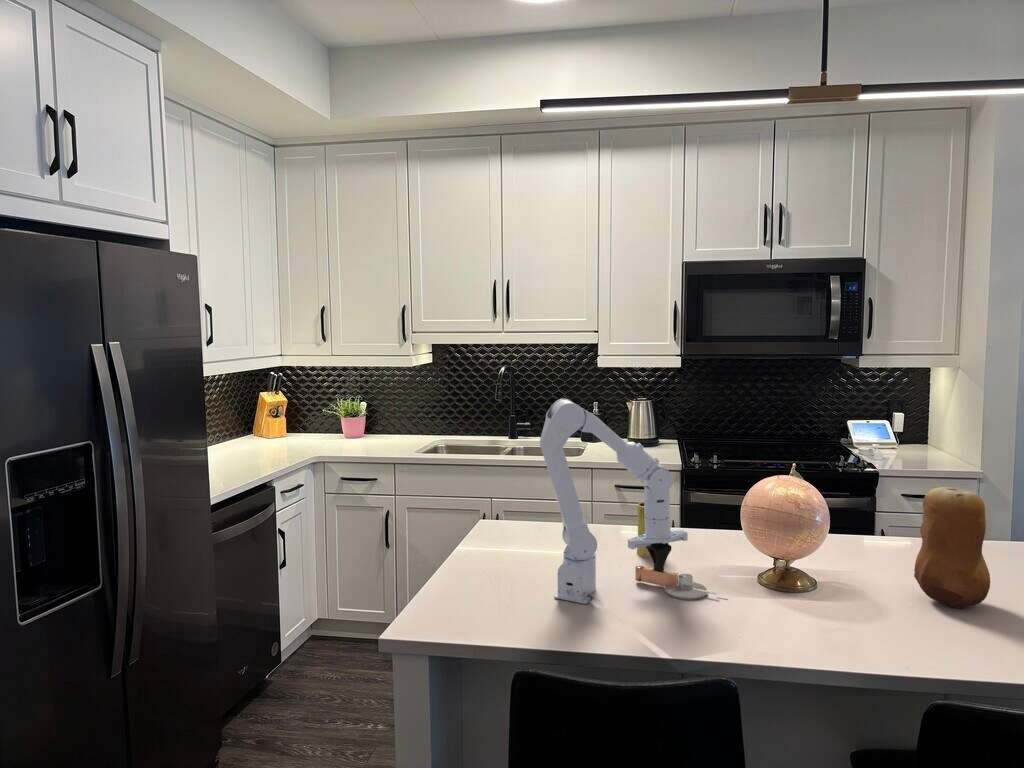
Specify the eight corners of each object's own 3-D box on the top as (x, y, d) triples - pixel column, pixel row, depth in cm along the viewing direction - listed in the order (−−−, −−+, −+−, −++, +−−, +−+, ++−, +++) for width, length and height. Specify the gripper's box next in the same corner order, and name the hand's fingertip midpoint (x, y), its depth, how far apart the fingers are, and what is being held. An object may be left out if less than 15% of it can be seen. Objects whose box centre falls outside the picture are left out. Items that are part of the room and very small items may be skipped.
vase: (633, 560, 187) (633, 506, 186) (640, 553, 193) (640, 500, 192) (656, 563, 185) (656, 508, 183) (663, 556, 190) (663, 502, 189)
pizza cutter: (723, 592, 161) (723, 575, 161) (709, 605, 154) (709, 588, 154) (644, 576, 172) (643, 561, 172) (627, 588, 165) (627, 572, 164)
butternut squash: (987, 599, 158) (992, 485, 156) (990, 621, 147) (995, 499, 145) (914, 588, 165) (917, 479, 163) (912, 608, 154) (915, 492, 152)
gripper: (638, 525, 160) (639, 585, 161) (694, 516, 164) (695, 575, 166) (622, 517, 166) (624, 575, 167) (677, 509, 171) (678, 565, 172)
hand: (658, 574), depth 167 cm, fingers closed, pressing on pizza cutter
